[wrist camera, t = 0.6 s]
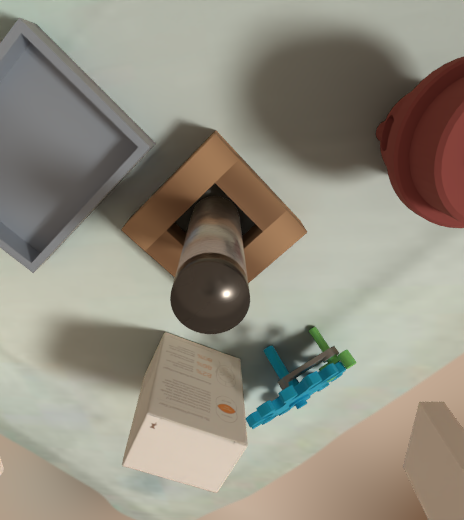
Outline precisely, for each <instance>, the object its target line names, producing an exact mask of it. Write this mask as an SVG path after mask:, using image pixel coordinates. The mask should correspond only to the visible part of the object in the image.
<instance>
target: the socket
mask: <svg viewBox="0 0 464 520" xmlns="http://www.w3.org/2000/svg"><path fill="white" fill-rule="evenodd" d="M214 183H216V184H217V185H218V186H219V187H220V188H221V189H222V190H223V191H224V192H225V194H226V195H227V196H228V197H229V198H230V199H231V200H232V201H233V202H234V203H235V204H236V205H237V206H238V207H239V208H240V209H241V210H242V211H243V212H244V213H245V214H246V215H247V216H248V217H249V218H250V219H251V220H252V221H253V222H254V223H255V225H254V226H253V227H252V228H251V229H250V230H248V231H247V232H246V233H245V234H244V235H243V236H242V240H243V248H244V255H245V263H246V271H247V278H248V283H249V282H250V281H251V280H253V279H254V278H255V277H256V276H257V275H258V274H260V273H261V272H262V271H263V270H264V269H265V268H267V267H268V266H269V265H270V264H271V263H272V262H273V261H275V260H276V259H277V258H278V257H279V256H280V255H282V254H283V253H284V252H285V251H286V250H287V249H289V248H290V247H291V246H292V245H293V244H294V243H296V242H297V241H298V240H299V239H300V238H301V237H303V236H304V235H305V234H306V233H307V231H306V229H305V228H304V226H303V224H302V223H301V221H300V220H299V219H298V218H297V217H296V216H295V215H294V213H293V212H292V211H291V210H290V209H289V208H288V207H287V206H286V205H285V204H284V203H283V202H282V201H281V199H280V198H279V197H278V196H277V195H276V194H275V193H274V192H273V191H272V190H271V189H270V188H269V187H268V186H267V184H266V183H265V182H264V181H263V180H262V179H261V178H260V177H259V176H258V175H257V174H256V173H255V172H254V171H253V169H252V168H251V167H250V166H249V165H248V164H247V163H246V162H245V161H244V160H243V159H242V158H241V157H240V156H239V154H238V153H237V152H236V151H235V150H234V149H233V148H232V147H231V146H230V145H229V144H228V143H227V142H226V140H225V139H224V138H223V137H222V136H221V135H220V134H219V133H218V132H217V131H215V132H214V133H213V134H212V135H211V136H210V137H209V138H208V139H207V140H206V141H205V142H204V143H203V144H202V145H201V146H200V147H199V148H198V149H197V150H196V151H195V152H194V153H193V154H192V155H191V156H190V157H189V158H188V159H187V160H186V161H185V162H184V163H183V164H182V165H181V166H180V167H179V168H178V169H177V171H176V172H175V173H174V174H173V175H172V176H171V177H170V178H169V179H168V180H167V181H166V182H165V183H164V184H163V185H162V186H161V187H160V188H159V189H158V190H157V191H156V192H155V193H154V194H153V195H152V196H151V197H150V198H149V199H148V200H147V201H146V202H145V203H144V204H143V205H142V206H141V207H140V208H139V209H138V210H137V211H136V212H135V214H134V215H133V216H132V217H131V218H130V219H129V220H128V221H127V223H126V224H125V225H124V227H123V228H122V229H121V230H122V231H123V232H124V233H125V234H126V235H127V236H129V237H130V238H131V239H132V240H133V241H134V242H135V243H136V244H138V245H139V246H140V247H141V248H142V249H143V250H144V251H146V252H147V253H148V254H149V255H150V256H151V257H152V258H153V259H155V260H156V261H157V262H158V263H159V264H160V265H161V266H163V267H164V268H165V269H166V270H167V271H168V272H169V273H170V274H172V275H173V276H174V277H175V276H176V272H177V268H178V264H179V260H180V257H181V253H182V249H183V245H184V242H185V238H186V233H185V232H184V231H183V230H182V229H181V228H180V227H179V226H178V225H177V224H176V223H175V221H176V220H177V219H178V218H179V217H180V216H181V215H183V214H184V213H185V212H186V211H187V210H188V209H189V208H190V207H191V206H192V205H193V204H194V203H195V202H196V201H197V200H198V199H199V198H200V197H201V196H202V195H203V194H204V193H205V192H206V191H207V190H208V189H209V188H210V187H211V186H212V185H213V184H214Z"/></svg>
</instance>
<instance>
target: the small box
mask: <svg viewBox="0 0 464 520" xmlns="http://www.w3.org/2000/svg"><path fill="white" fill-rule="evenodd" d="M247 446H248V442H247V431H246V418H245V407H244V394H243V383H242V372H241V360H240V359H239V358H236V357H233V356H230V355H228V354H225V353H222V352H219V351H217V350H214V349H211V348H208V347H205V346H203V345H200V344H197V343H195V342H192V341H189V340H186V339H183V338H181V337H178V336H175V335H172V334H170V333H167V332H165V333H164V334H163V336H162V339H161V341H160V343H159V345H158V347H157V349H156V352H155V354H154V356H153V358H152V360H151V362H150V364H149V367H148V369H147V371H146V373H145V375H144V379H143V383H142V387H141V391H140V395H139V399H138V403H137V407H136V410H135V414H134V418H133V422H132V426H131V430H130V434H129V438H128V442H127V446H126V450H125V454H124V458H123V463H122V465H123V466H125V467H128V468H132V469H135V470H139V471H142V472H146V473H149V474H153V475H156V476H160V477H163V478H167V479H170V480H174V481H177V482H180V483H184V484H187V485H191V486H194V487H198V488H201V489H205V490H208V491H211V492H214V493H217V492H218V491H219V489H220V487H221V486H222V484H223V483H224V481H225V480H226V478H227V477H228V475H229V474H230V472H231V471H232V469H233V467H234V466H235V464H236V463H237V461H238V460H239V458H240V457H241V455H242V454H243V452H244V451H245V449H246V448H247Z"/></svg>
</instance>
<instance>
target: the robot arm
mask: <svg viewBox="0 0 464 520" xmlns="http://www.w3.org/2000/svg"><path fill="white" fill-rule="evenodd" d="M403 468H404V470H405V472H406V474H407V476H408V478H409V480H410V482H411V484H412V486H413V489H414V491H415V493H416V495H417V497H418V499H419V501H420V503H421V505H422V507H423V509H424V511H425V513H426V516H427V518H428V520H464V429H463V428H462V426H461V425H460V424H459V422H458V421H457V420H456V418H455V417H454V415H453V414H452V413H451V411H450V410H449V408H448V407H447V406H446V404H445V403H444V402H419V405H418V409H417V413H416V417H415V421H414V425H413V429H412V433H411V437H410V441H409V445H408V449H407V453H406V457H405V461H404V465H403ZM3 470H4V468H3V464H2V461H1V457H0V475H1V473H2V472H3Z"/></svg>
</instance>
